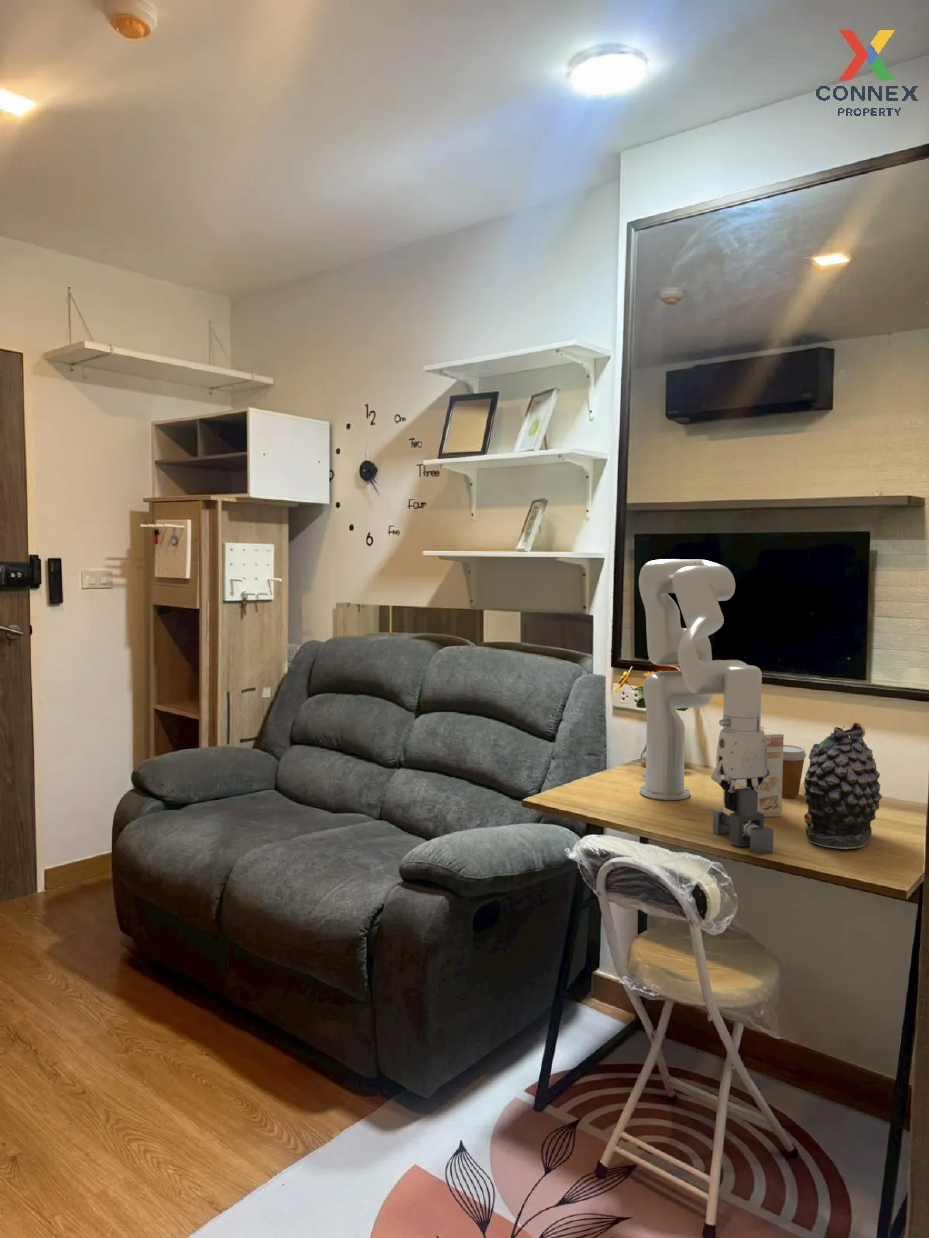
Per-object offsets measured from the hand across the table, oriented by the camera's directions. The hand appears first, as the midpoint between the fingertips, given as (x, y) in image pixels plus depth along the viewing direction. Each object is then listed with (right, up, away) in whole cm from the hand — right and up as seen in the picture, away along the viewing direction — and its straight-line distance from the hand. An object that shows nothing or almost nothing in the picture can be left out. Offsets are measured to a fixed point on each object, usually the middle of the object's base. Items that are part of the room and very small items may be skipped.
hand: (739, 807), depth 176 cm
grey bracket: (+1, -7, -2) cm, 8 cm away
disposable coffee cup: (+23, -5, +36) cm, 43 cm away
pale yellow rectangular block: (0, -2, +1) cm, 2 cm away
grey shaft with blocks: (0, -7, 0) cm, 7 cm away
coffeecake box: (+11, -6, +24) cm, 27 cm away
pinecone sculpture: (+22, -7, +2) cm, 23 cm away
